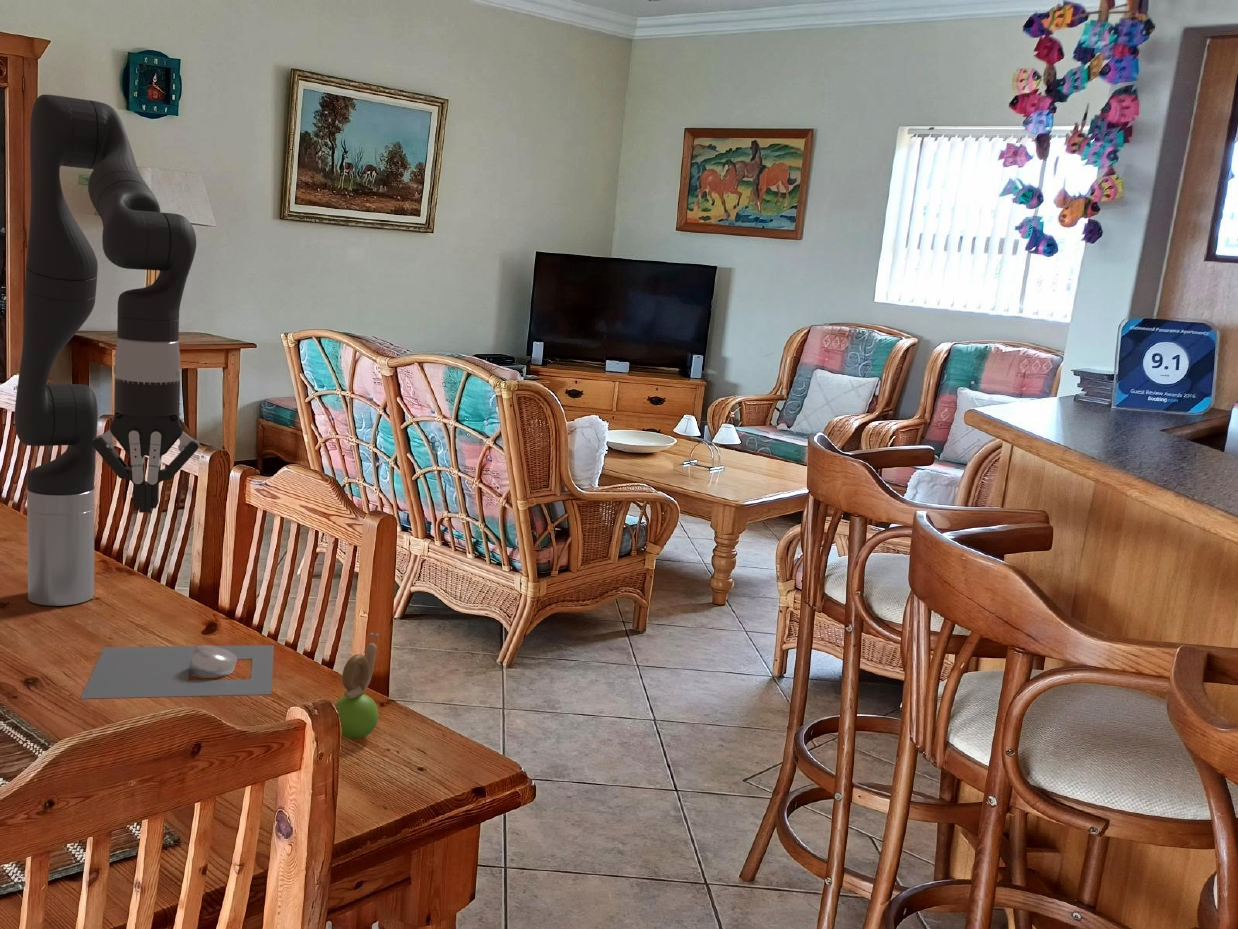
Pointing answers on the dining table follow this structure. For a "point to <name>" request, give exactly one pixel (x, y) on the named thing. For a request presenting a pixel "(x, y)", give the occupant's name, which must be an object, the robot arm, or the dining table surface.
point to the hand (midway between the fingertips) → (145, 511)
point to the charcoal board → (172, 673)
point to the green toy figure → (358, 695)
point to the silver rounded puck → (211, 662)
